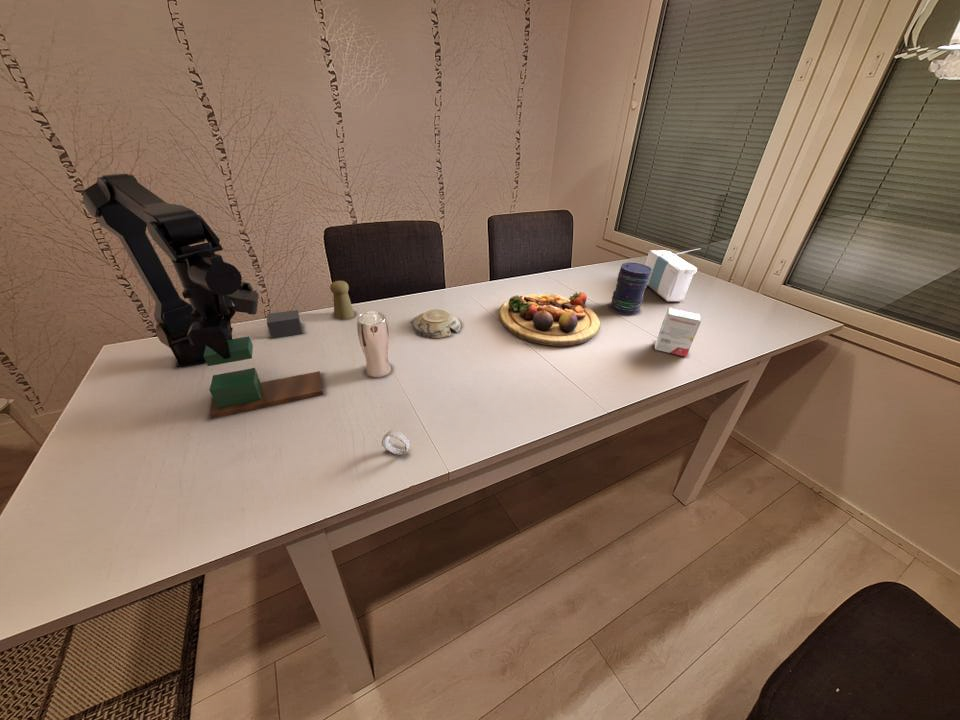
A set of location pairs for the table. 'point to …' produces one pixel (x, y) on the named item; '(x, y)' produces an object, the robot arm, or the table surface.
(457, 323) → the decorative bowl
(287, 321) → the grey book
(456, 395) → the table surface
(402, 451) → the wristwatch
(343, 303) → the olive green pawn
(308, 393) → the shelf board
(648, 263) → the radio
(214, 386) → the green book
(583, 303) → the wooden plate
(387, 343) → the beer glass
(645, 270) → the storage jar
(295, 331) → the grey book
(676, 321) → the ink box
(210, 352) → the green rectangular block
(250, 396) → the green book
